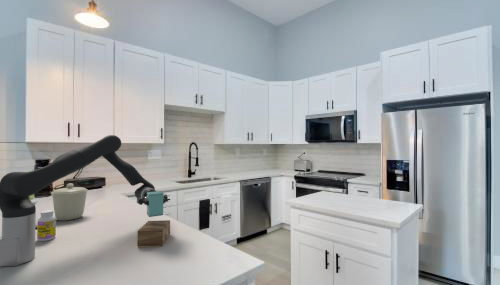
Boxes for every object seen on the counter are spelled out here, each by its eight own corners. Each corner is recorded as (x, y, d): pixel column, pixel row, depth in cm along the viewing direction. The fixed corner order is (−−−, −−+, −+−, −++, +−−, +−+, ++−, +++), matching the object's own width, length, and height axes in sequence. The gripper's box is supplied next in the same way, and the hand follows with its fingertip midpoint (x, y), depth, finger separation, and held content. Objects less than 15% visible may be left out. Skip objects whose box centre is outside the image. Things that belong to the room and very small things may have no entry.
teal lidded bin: (163, 215, 112) (163, 193, 112) (148, 217, 108) (149, 194, 108) (160, 212, 117) (160, 191, 117) (146, 213, 114) (146, 192, 114)
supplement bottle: (33, 242, 110) (34, 213, 111) (41, 237, 117) (42, 210, 117) (51, 240, 112) (51, 212, 112) (58, 235, 119) (58, 209, 119)
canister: (42, 221, 142) (42, 185, 142) (71, 213, 159) (72, 180, 160) (67, 223, 137) (67, 186, 138) (94, 215, 155) (95, 181, 155)
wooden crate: (162, 246, 105) (162, 229, 106) (137, 247, 105) (137, 230, 105) (170, 234, 120) (170, 220, 120) (148, 235, 119) (148, 220, 119)
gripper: (134, 189, 121) (138, 195, 107) (164, 187, 129) (172, 192, 114) (134, 205, 121) (138, 213, 107) (164, 201, 129) (172, 208, 114)
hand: (156, 202), depth 111 cm, fingers closed on teal lidded bin, 6 cm apart
